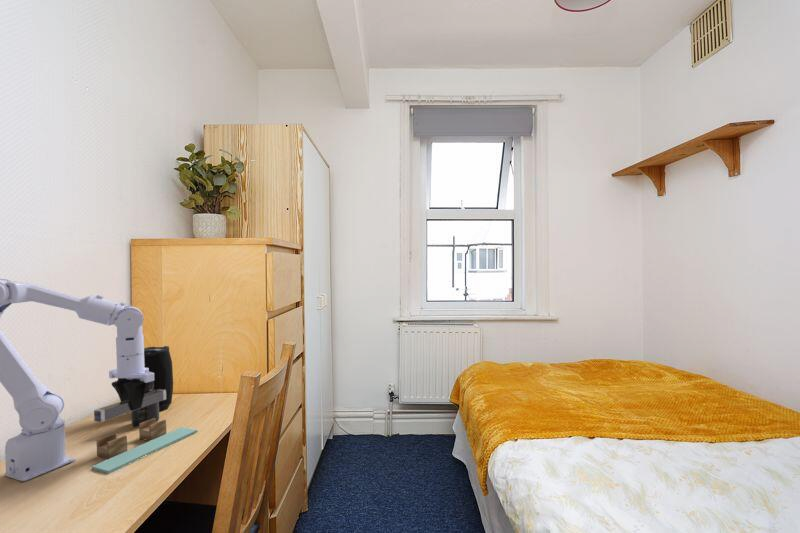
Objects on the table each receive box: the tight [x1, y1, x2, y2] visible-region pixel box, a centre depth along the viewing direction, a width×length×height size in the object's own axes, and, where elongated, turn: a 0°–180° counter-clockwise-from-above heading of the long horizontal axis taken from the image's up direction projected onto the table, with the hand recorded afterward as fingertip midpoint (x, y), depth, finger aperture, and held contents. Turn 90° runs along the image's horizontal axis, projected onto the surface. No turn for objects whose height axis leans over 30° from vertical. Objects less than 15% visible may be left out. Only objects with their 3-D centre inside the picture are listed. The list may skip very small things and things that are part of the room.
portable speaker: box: [144, 345, 174, 412], centre depth 123 cm, size 9×9×20 cm
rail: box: [93, 389, 166, 423], centre depth 97 cm, size 16×2×2 cm, turn 157°
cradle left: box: [96, 432, 128, 460], centre depth 92 cm, size 4×5×4 cm
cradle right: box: [138, 418, 167, 441], centre depth 101 cm, size 4×5×4 cm
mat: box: [91, 426, 198, 474], centre depth 95 cm, size 22×6×1 cm, turn 157°
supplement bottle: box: [130, 381, 160, 428], centre depth 112 cm, size 7×7×12 cm
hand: (132, 408), depth 97 cm, fingers closed on rail, 2 cm apart
